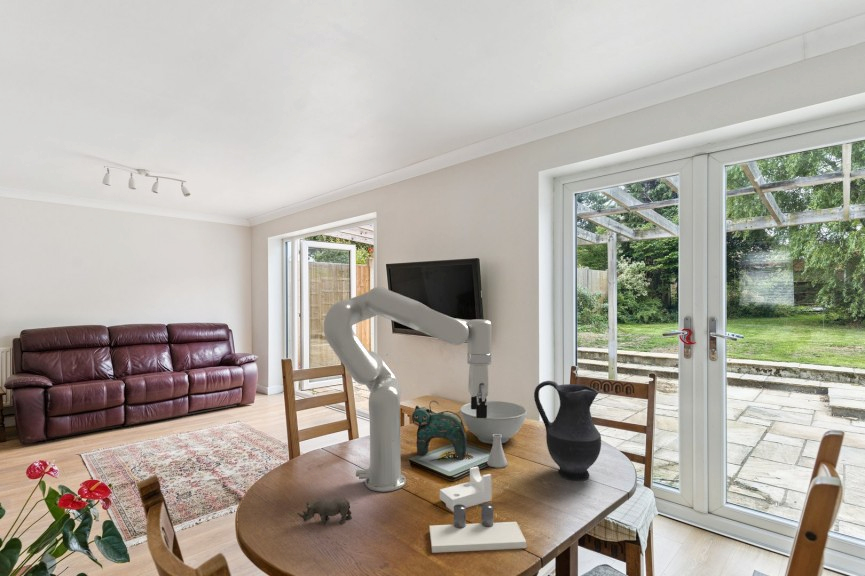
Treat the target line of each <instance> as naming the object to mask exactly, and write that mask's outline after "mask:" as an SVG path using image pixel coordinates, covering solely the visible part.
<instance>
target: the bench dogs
mask: <svg viewBox="0 0 865 576" xmlns="http://www.w3.org/2000/svg"><path fill="white" fill-rule="evenodd" d="M480 507H481V511H480V512H481V513H480V514H481V518H480V519H481V521H480V523H481V524H482V526H484V527H492V526H493V523H494V505H493V504H492V503H487V502H484V503H481V505H480ZM466 511H467V510H466V507H465V506H464V505H461V504H457V505H455V506H454V512H453V525H454V527H456V528H464V527H465V526H466V524H467V522H466V521H467V518H466V515H467V512H466Z"/></svg>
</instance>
